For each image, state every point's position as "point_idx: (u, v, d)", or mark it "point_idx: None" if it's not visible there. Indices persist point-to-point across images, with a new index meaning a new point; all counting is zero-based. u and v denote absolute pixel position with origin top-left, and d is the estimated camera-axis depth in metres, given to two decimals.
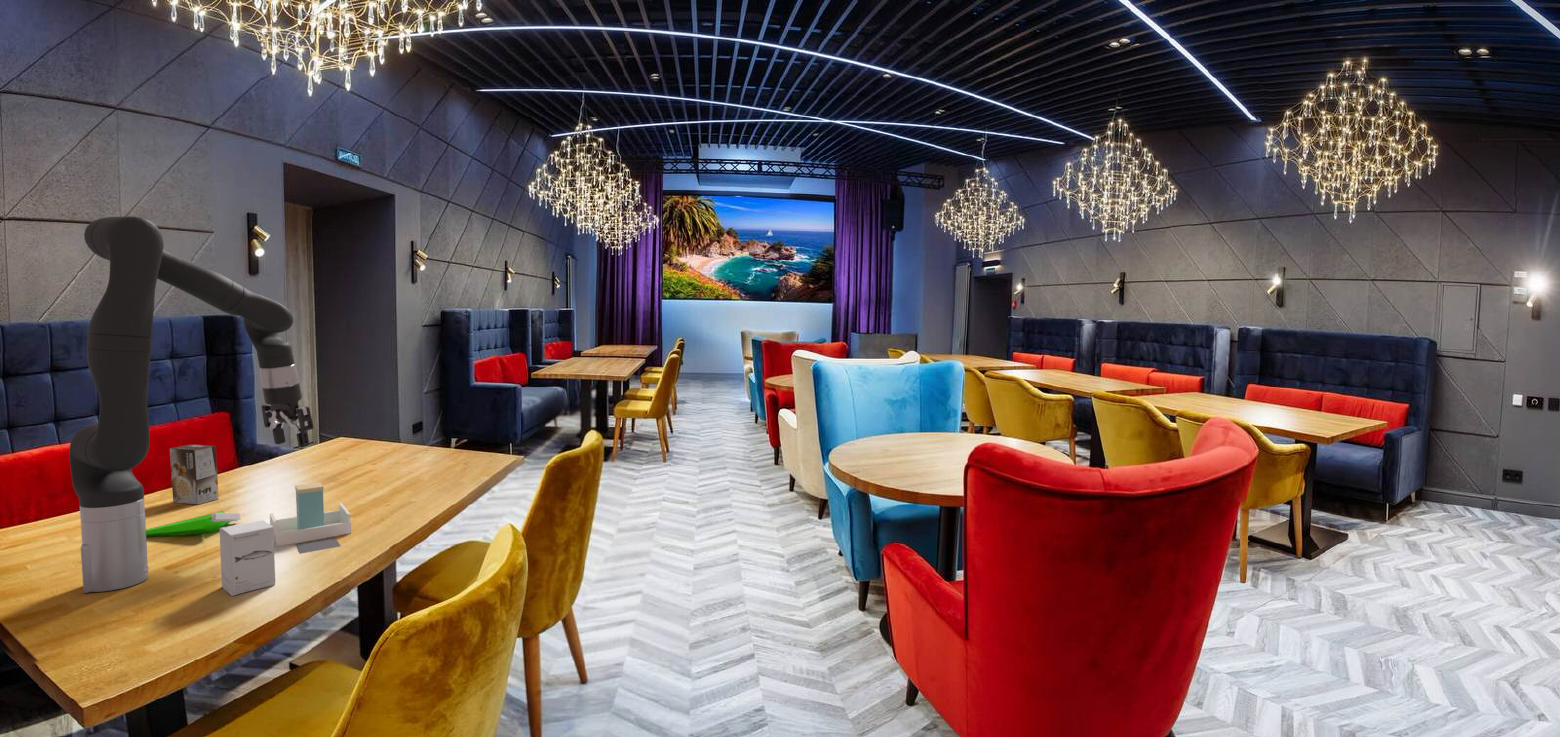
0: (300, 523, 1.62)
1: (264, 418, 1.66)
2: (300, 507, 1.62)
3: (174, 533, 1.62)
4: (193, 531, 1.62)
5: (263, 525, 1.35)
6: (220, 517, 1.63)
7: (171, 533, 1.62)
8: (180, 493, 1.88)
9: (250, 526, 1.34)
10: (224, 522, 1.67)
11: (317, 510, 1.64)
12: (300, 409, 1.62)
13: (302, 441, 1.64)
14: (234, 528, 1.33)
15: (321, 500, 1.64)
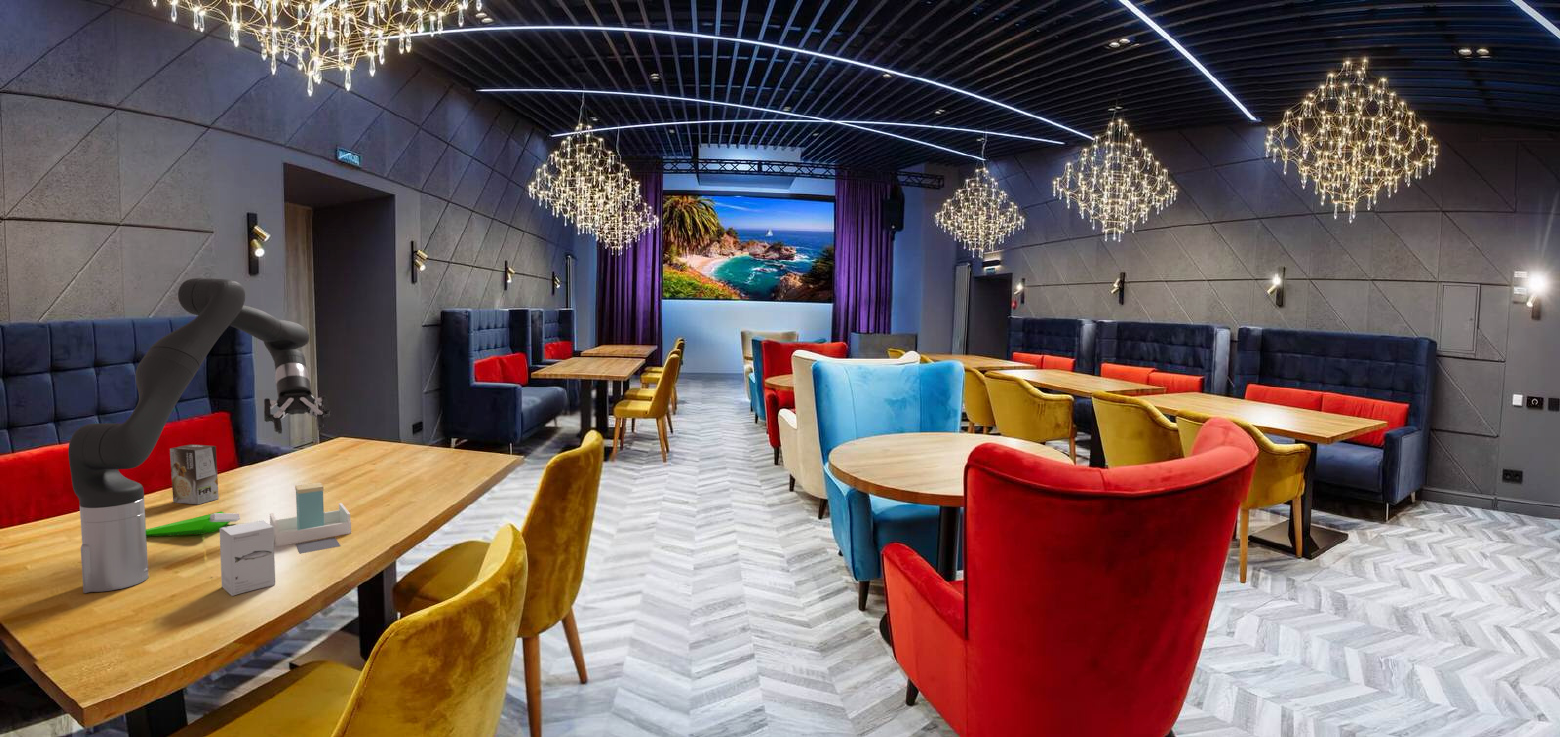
0: (300, 523, 1.62)
1: (266, 408, 1.71)
2: (300, 507, 1.62)
3: (173, 533, 1.62)
4: (192, 532, 1.62)
5: (263, 525, 1.35)
6: (219, 517, 1.63)
7: (170, 534, 1.62)
8: (180, 493, 1.88)
9: (250, 526, 1.34)
10: (223, 522, 1.66)
11: (317, 510, 1.64)
12: None
13: (322, 422, 1.77)
14: (234, 528, 1.33)
15: (321, 500, 1.64)
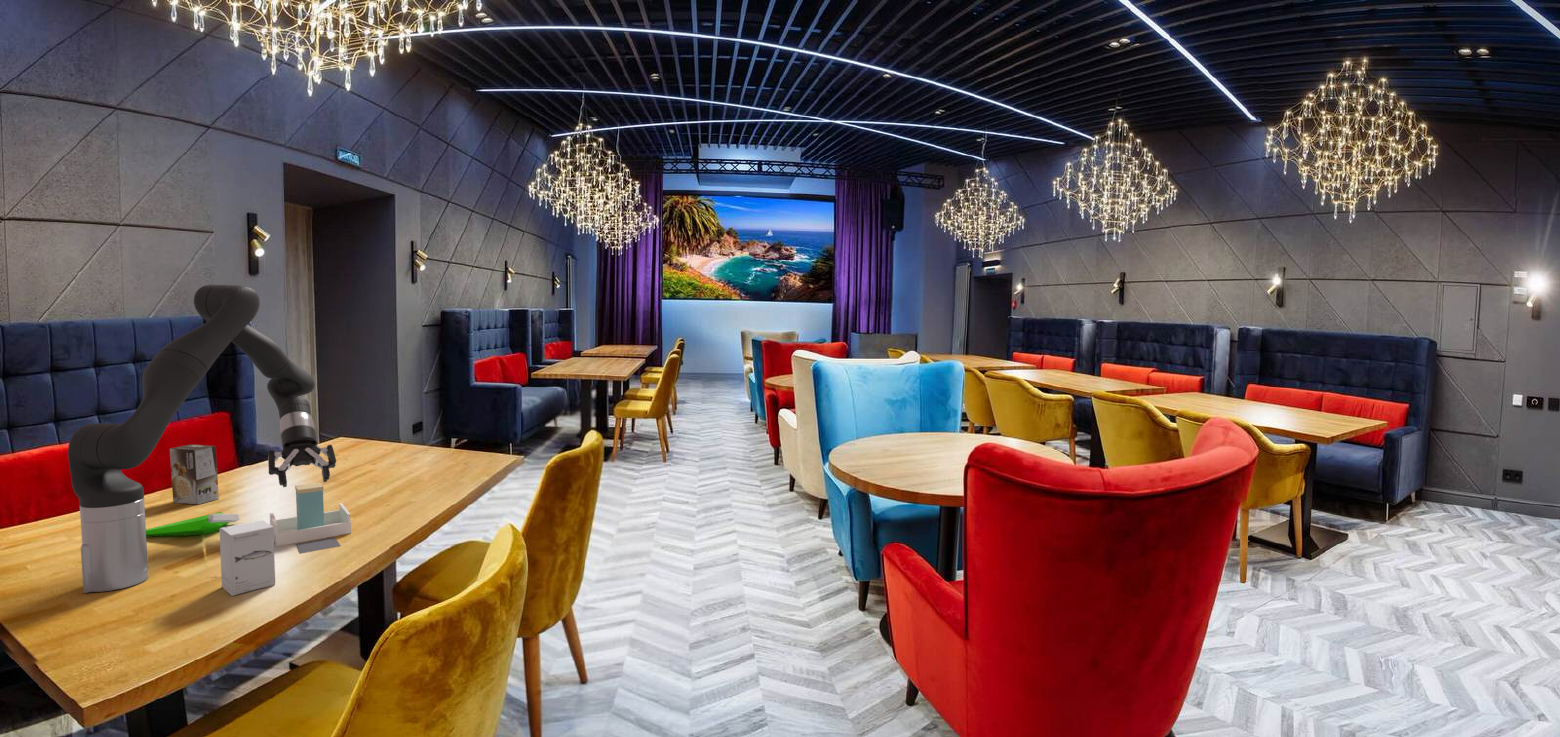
0: (300, 523, 1.62)
1: (271, 461, 1.66)
2: (300, 507, 1.62)
3: (172, 534, 1.61)
4: (191, 532, 1.62)
5: (263, 525, 1.35)
6: (218, 518, 1.62)
7: (169, 534, 1.61)
8: (180, 493, 1.88)
9: (250, 526, 1.34)
10: (222, 523, 1.66)
11: (317, 510, 1.64)
12: None
13: (328, 473, 1.72)
14: (234, 528, 1.33)
15: (321, 500, 1.64)
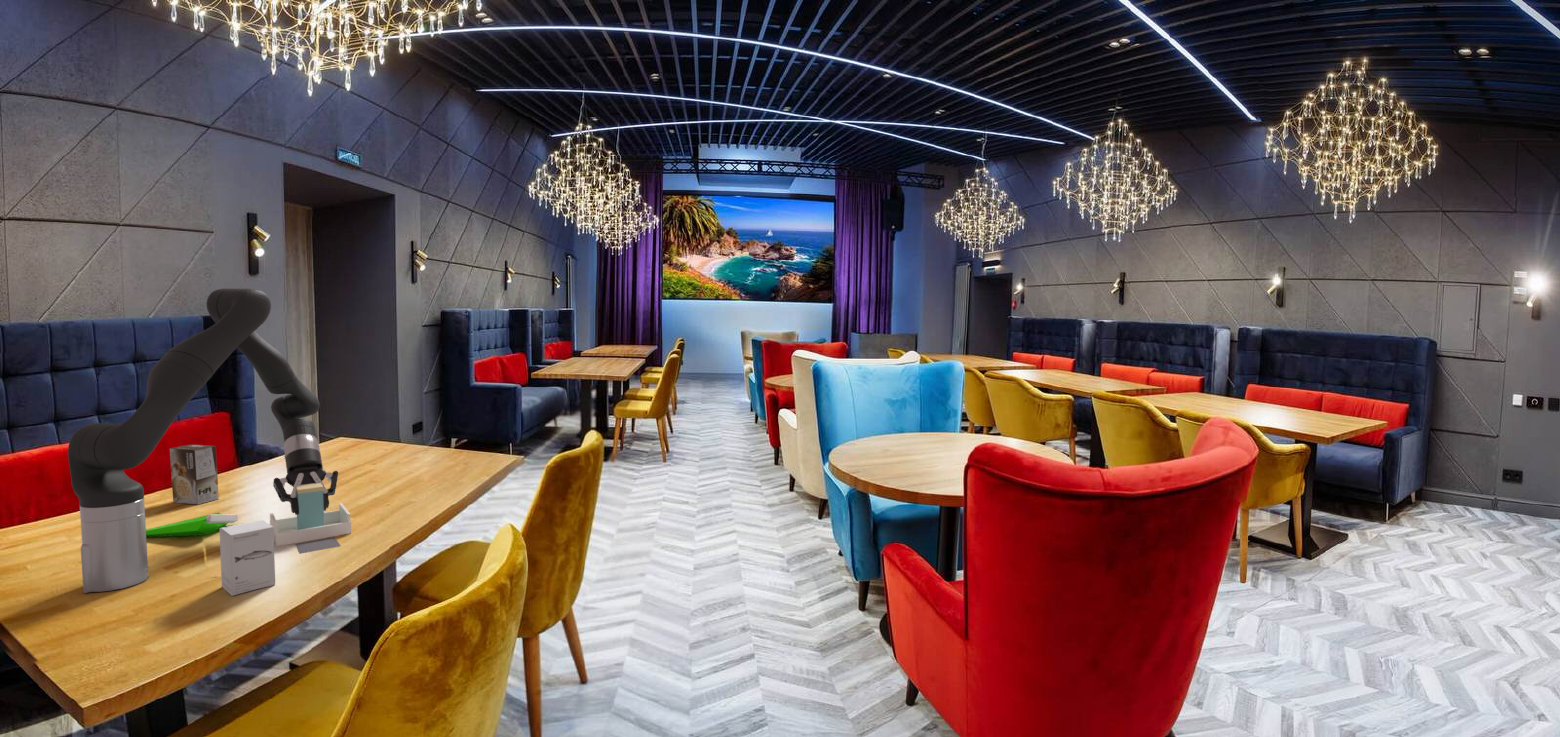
0: (300, 523, 1.62)
1: (280, 489, 1.62)
2: (300, 507, 1.62)
3: (171, 534, 1.61)
4: (189, 533, 1.61)
5: (263, 525, 1.35)
6: (216, 518, 1.62)
7: (168, 534, 1.61)
8: (180, 493, 1.88)
9: (250, 526, 1.34)
10: (220, 524, 1.65)
11: (317, 510, 1.64)
12: None
13: (327, 501, 1.66)
14: (234, 528, 1.33)
15: (321, 500, 1.64)
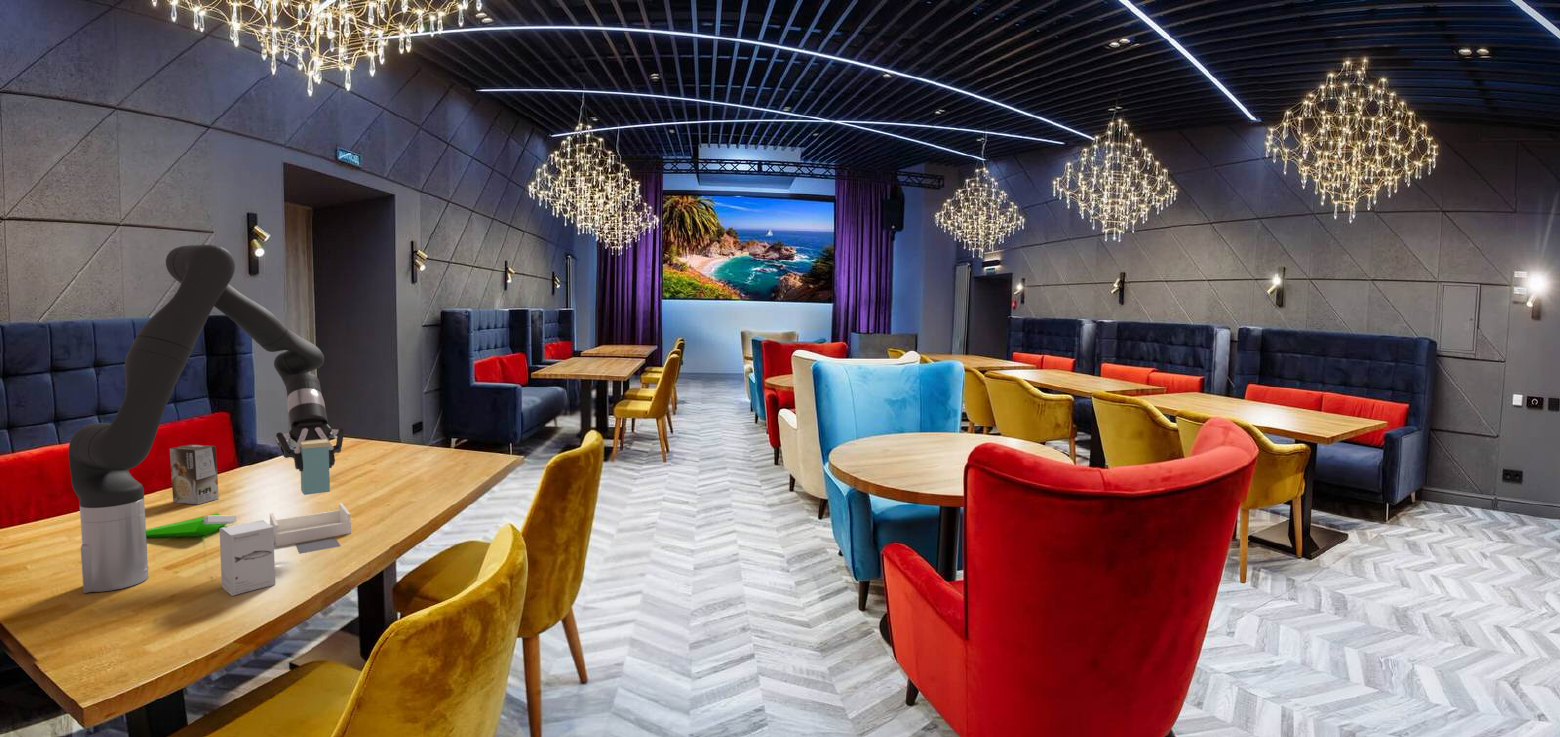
0: (304, 480, 1.52)
1: (283, 444, 1.53)
2: (304, 463, 1.52)
3: (169, 535, 1.61)
4: (187, 533, 1.61)
5: (263, 525, 1.35)
6: (213, 519, 1.61)
7: (166, 535, 1.61)
8: (180, 493, 1.88)
9: (250, 526, 1.34)
10: (219, 524, 1.65)
11: (323, 467, 1.55)
12: None
13: (333, 458, 1.57)
14: (234, 528, 1.33)
15: (327, 456, 1.55)
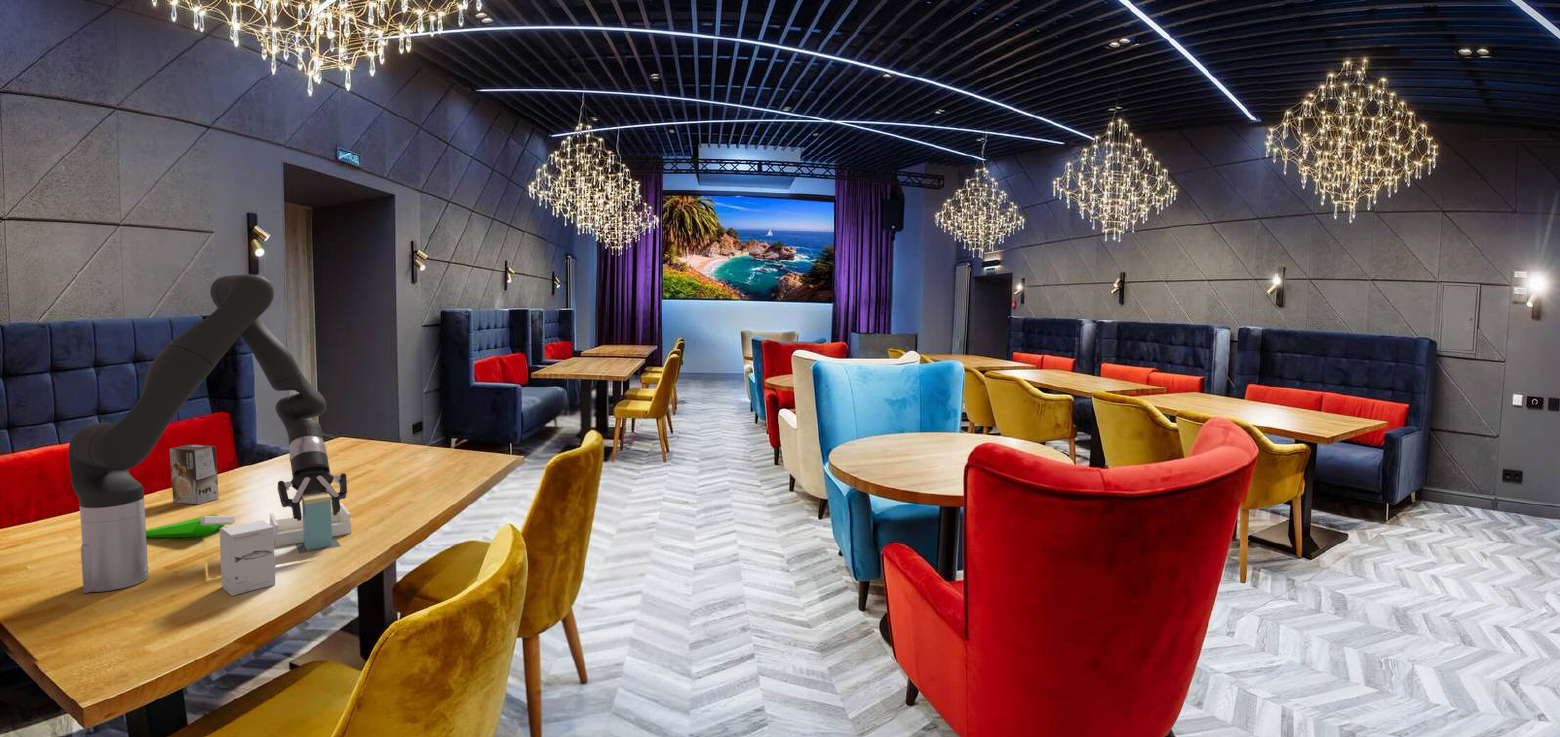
0: (307, 535, 1.54)
1: (283, 493, 1.54)
2: (307, 518, 1.53)
3: (167, 535, 1.60)
4: (185, 534, 1.60)
5: (263, 525, 1.35)
6: (210, 520, 1.60)
7: (164, 536, 1.60)
8: (180, 493, 1.88)
9: (250, 526, 1.34)
10: (216, 525, 1.64)
11: (325, 522, 1.56)
12: None
13: (338, 505, 1.58)
14: (234, 528, 1.33)
15: (329, 510, 1.56)
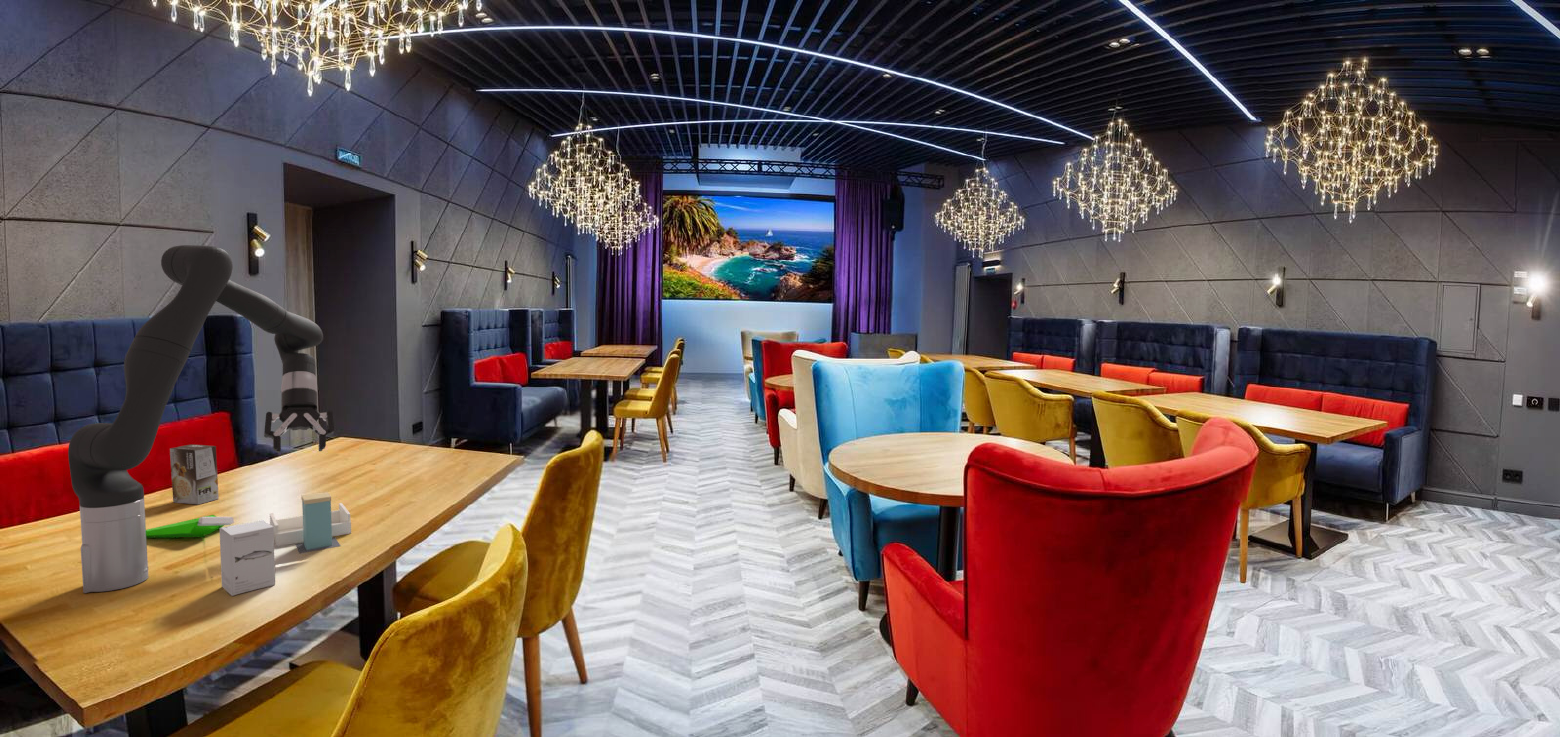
0: (307, 535, 1.54)
1: (267, 424, 1.61)
2: (307, 518, 1.53)
3: (165, 536, 1.60)
4: (183, 535, 1.60)
5: (263, 525, 1.35)
6: (208, 521, 1.60)
7: (163, 536, 1.60)
8: (180, 493, 1.88)
9: (250, 526, 1.34)
10: (215, 526, 1.63)
11: (325, 522, 1.56)
12: None
13: (324, 443, 1.67)
14: (234, 528, 1.33)
15: (329, 510, 1.56)
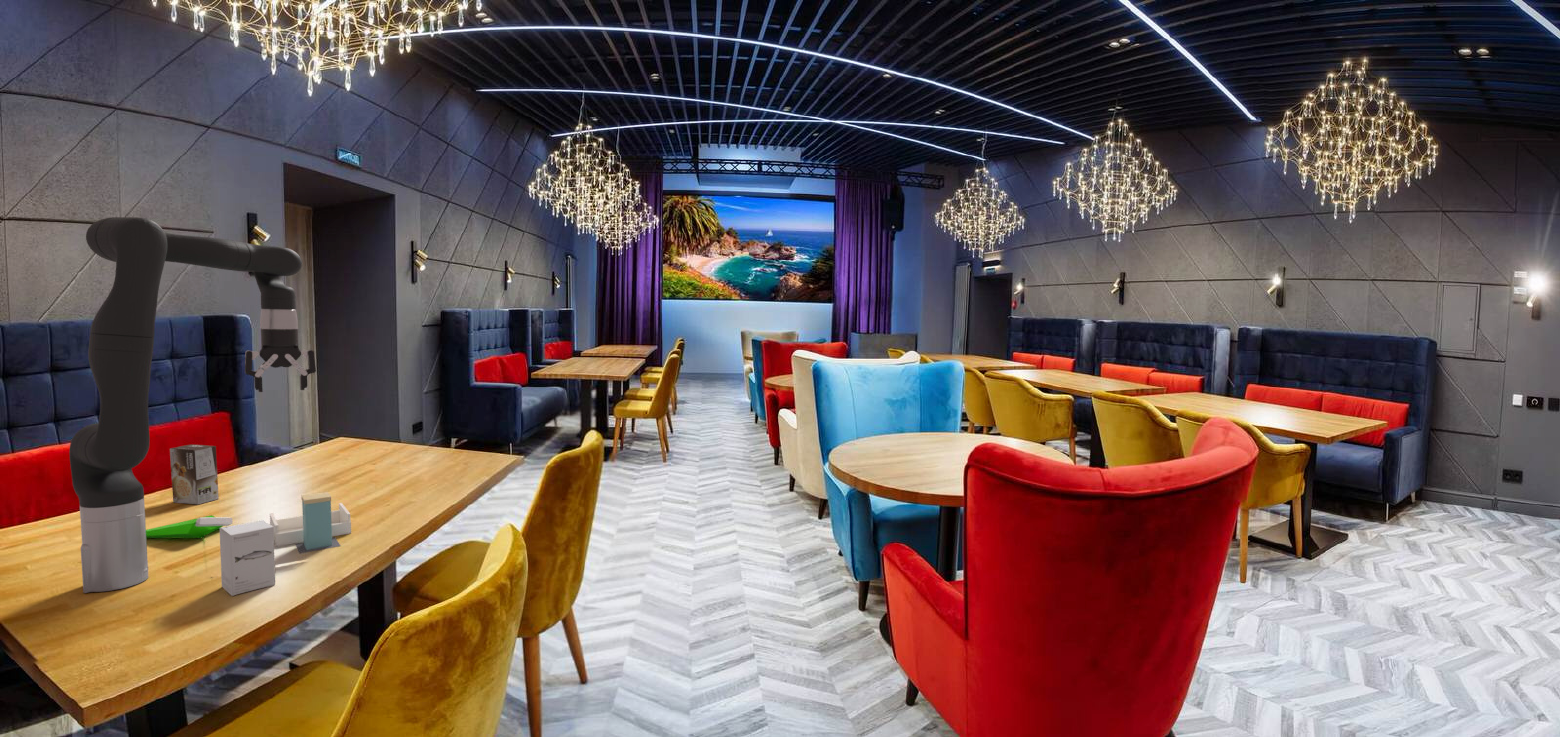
0: (307, 535, 1.54)
1: (248, 365, 1.61)
2: (307, 518, 1.53)
3: (164, 536, 1.60)
4: (181, 535, 1.59)
5: (263, 525, 1.35)
6: (206, 521, 1.59)
7: (161, 536, 1.60)
8: (180, 493, 1.88)
9: (250, 526, 1.34)
10: (213, 527, 1.63)
11: (325, 522, 1.56)
12: (312, 350, 1.69)
13: (306, 383, 1.69)
14: (234, 528, 1.33)
15: (329, 510, 1.56)
